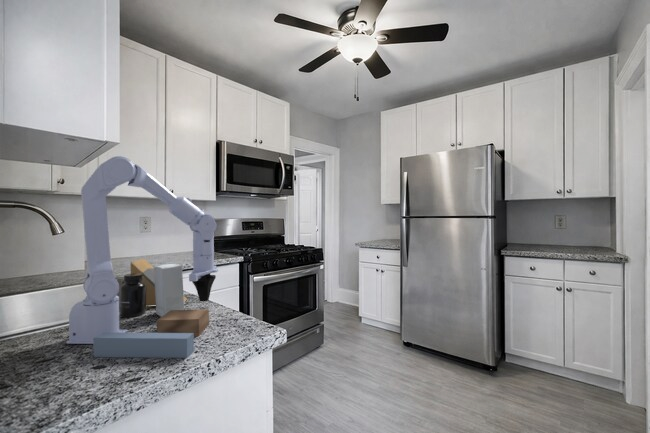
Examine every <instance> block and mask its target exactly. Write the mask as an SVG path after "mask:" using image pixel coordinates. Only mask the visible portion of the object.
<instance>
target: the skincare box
mask: <svg viewBox="0 0 650 433" xmlns="http://www.w3.org/2000/svg"><path fill="white" fill-rule="evenodd" d="M153 267H154V275H155V298H156V307H155V314H156V315H158V316H159V317H160V318H161V317H162V316H164V315H165V314H166V313H168V312H169V311H171V310H185V302H184V297H185V294H184V281H183V275H184V274H183V265H181V264H175V263H168V264H166V263H165V264H159V265H154V266H153Z"/></svg>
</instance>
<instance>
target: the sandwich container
mask: <svg viewBox="0 0 650 433" xmlns="http://www.w3.org/2000/svg"><path fill="white" fill-rule="evenodd" d="M133 273H141V274H143V280H142V282H144V283H145V284H146V305H156V298H155V275H154V266H153V265H152V264H151V263H149V261H147V259H146V258H141V259H140V258H139V259H136V260H133V261H130V274H133ZM186 300H187V301H188V300H189V299H188V298H187V297H186V296H184V303H186V302H187V301H186ZM185 301H186V302H185Z"/></svg>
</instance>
